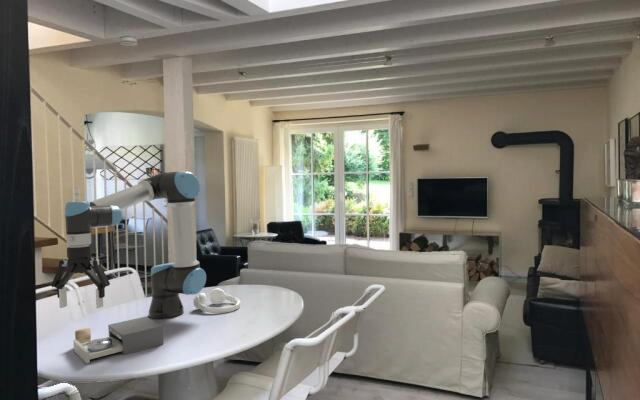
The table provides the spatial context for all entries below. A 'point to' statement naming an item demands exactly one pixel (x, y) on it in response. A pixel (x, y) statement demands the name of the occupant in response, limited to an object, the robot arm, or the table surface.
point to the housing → (137, 334)
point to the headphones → (215, 301)
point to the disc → (99, 344)
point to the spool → (83, 335)
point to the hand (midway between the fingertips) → (81, 307)
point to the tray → (87, 355)
